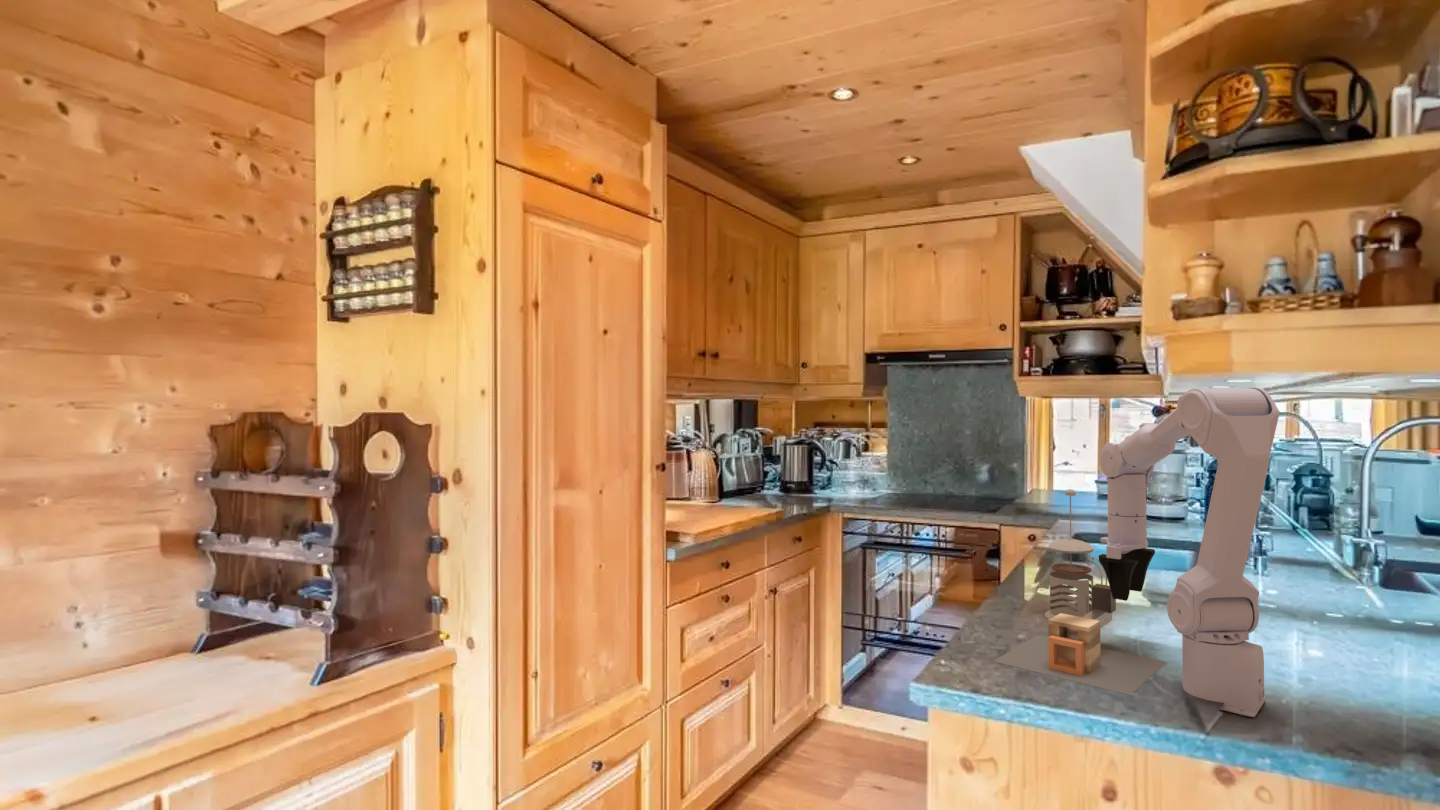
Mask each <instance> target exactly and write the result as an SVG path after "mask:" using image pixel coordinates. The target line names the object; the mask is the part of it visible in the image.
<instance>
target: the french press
mask: <svg viewBox="0 0 1440 810" xmlns="http://www.w3.org/2000/svg"><path fill="white" fill-rule="evenodd" d="M1064 496H1069V537H1068V538H1062V539H1057V540H1054V541H1052V542H1051V543H1050V544H1048V549H1049V550H1051V551H1053V552H1058V553H1063V554H1064V553H1065V554H1069V555H1070V556H1069V557H1070V558H1069V560H1070V563H1060V562H1059V563H1055V564H1052V565H1051V566H1050V568H1051V569H1052V570H1053V571H1051V572H1049V610H1047V611H1046V612H1044V617H1045V618H1046V619H1048V620H1049V619H1051V618H1053V617H1055V616H1056V615H1058V614H1060V613H1062V614H1067V615H1073V616H1078V617H1083V616H1084V615H1086V614H1088V613H1089V612H1091V611H1093V610H1092V586H1093V585H1094V576H1093V575H1091V574H1090V573H1091V572H1092V571H1093V570H1092V568H1091V567H1090V566H1092V565H1093V564H1094V565H1095V566H1096V568H1098V571H1099V573H1100V584H1102V585H1108V578H1107V575H1106V574H1105V584H1103V583H1104V582H1103V573H1102V570H1101V568H1100V566H1099V565H1098V564H1097V562H1099V558H1096V557H1095V556H1093V557H1092V558H1089V557H1088V558H1087V559H1086V565H1082V564H1080V565H1079V564H1075V563H1072V554H1074V555H1075V554H1079V555H1080V554H1082V555H1083V554H1090V553H1092V552H1093V551H1094V550H1095V547H1093V546H1092V545H1091V544H1089V543H1088V542H1085V541H1083V540H1080V539H1075V538H1073V537H1072V496H1075V497H1076V490H1074V489H1072V488H1071V489H1070V488H1068V489H1067V490H1066V491H1065V494H1064ZM1094 560H1096V561H1097V562H1096V561H1094ZM1089 561H1091V563H1089ZM1099 564H1100V565H1101V563H1100V562H1099ZM1103 570H1104V569H1103ZM1104 572H1105V570H1104ZM1073 589H1077V590H1073ZM1090 589H1091V590H1090ZM1072 595H1074V596H1075V597H1074V596H1072ZM1072 602H1075V603H1072Z"/></svg>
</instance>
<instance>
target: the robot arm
mask: <svg viewBox="0 0 1440 810" xmlns="http://www.w3.org/2000/svg"><path fill="white" fill-rule="evenodd" d="M1176 404H1177V406H1176V408H1175V409H1173V410H1172V411H1170V413H1169V414H1168V415H1167V416H1165V418H1163V419H1162V420H1161V421H1160V422H1159V423H1155V422H1154V423H1152V422H1143V423H1141V424H1140V425H1139V426H1138V428H1139V429H1137V430H1135V431H1134V432H1133V433H1132V434H1131V435H1127V436H1125V437H1124V439H1123V440H1122V441H1121V442H1119V443H1115V442H1106V443H1105V445H1104V446H1103V447H1102V448H1101V450H1100V454H1099V466H1100V468H1101V471H1102V473H1103V474H1104V476H1105V477H1107V536H1104V537H1103V536H1102V537H1101V538H1100V543H1103V544H1104V543H1105V544H1107V545H1106V548H1105V549H1106V552H1105V553H1102V554H1099V555H1098V560H1099V561H1098V562H1099V564H1100V563H1101V564H1100V565H1101V566H1102V568H1103V570H1105V571H1104V574H1105V576H1106V575H1107V583H1108V586H1110V589H1111V593H1112V597H1113V599H1116V600H1119V601H1125V602H1126V601H1128V599H1129V597H1130V593H1131V591H1133V592H1142V591H1143V589H1144V584H1145V580H1146V575H1147V571H1148V567H1149V566H1150V563H1151V561H1152V559H1153V557H1154V555H1155V554H1156V550H1155V549H1153V548H1148V547H1149V541H1148V540H1147V537H1148V536H1147V488H1149V486H1150V484H1151V475H1152V473H1153V471H1154V469H1155V465H1156V464H1158V463H1159V462H1160V461H1162V460H1164V459H1165V458H1166V457H1168V456H1170V455H1171V454H1172V453H1173V452H1174V450H1175V448H1176V442H1178V441H1180V440H1182V439H1184V438H1185V437H1187V436H1190V437H1192V439H1193V440H1194V441H1195V442H1196V443H1197V445H1198V446H1199V447H1200V448H1201V450H1202V451H1203V452H1204V453H1205V454H1208V455H1210V456H1212V457H1214V458H1215V460H1216V461H1217V469H1216V473H1215V477H1214V481H1213V482H1214V483H1213V487H1212V492H1211V496H1210V499H1209V500H1210V501H1209V507H1208V511H1207V515H1206V520H1205V525H1204V528H1203V534H1202V539H1201V543H1200V546H1199V552H1198V558H1197V562H1196V564H1195V566H1194V567H1192V568H1190V569H1188V570H1187V571H1185V572H1184V573H1183V574H1181V575H1180V576H1178V577H1177V578H1176V583H1175V587H1174V588H1173V590H1172V591H1171V592H1170V594H1169V596H1168V599H1167V601H1166V602H1167V604H1166V611H1167V615H1168V618H1169V620H1170V623H1171V624H1172V626H1174V628H1175V630H1176V632H1177V633H1179V634H1181V637H1182V642H1181V643H1182V644H1181V645H1182V654H1181V655H1182V690H1183V691H1184V692H1185V693H1187V694H1189V695H1191V696H1193V697H1196V698H1199V699H1202V700H1205V701H1208V702H1209V701H1210V702H1215V703H1221V704H1222V703H1223V704H1222V706H1221V707H1220V708H1219V711H1220V710H1222V711H1225V712H1229V713H1233V714H1236V715H1237V714H1238V715H1242V716H1246V717H1249V718H1250V717H1251V718H1255V717H1256V716H1257V714H1258V712H1259V711H1260V710H1261V708H1262V707H1263V705H1264V703H1265V702H1266V698H1265V662H1264V661H1265V659H1264V658H1265V655H1264V650H1263V649H1264V648H1263V646H1262V645H1260V644H1256V643H1252V642H1249V641H1248V640H1250V637H1249V636H1250V633H1253V632H1254V631H1255V630H1256V628H1257V627H1258V624H1259V620H1260V611H1259V605H1258V603H1259V601H1258V600H1259V596H1260V591H1259V590H1258V589H1257V587H1256V586H1255V585H1254V583H1253V582H1252V581H1250V580H1249V579H1248V578H1246V576H1244V573H1245V568H1246V563H1247V560H1248V555H1249V551H1250V547H1251V542H1252V538H1253V535H1254V534H1253V533H1254V529H1255V525H1256V521H1257V517H1258V513H1259V509H1260V504H1261V500H1262V495H1263V492H1264V487H1265V483H1266V478H1267V475H1268V471H1269V466H1270V460H1271V450H1272V447H1273V443H1274V439H1275V434H1276V430H1277V426H1278V423H1279V422H1278V421H1279V418H1280V410H1279V408H1278V407H1277V405H1276V403H1275V401H1274V400H1273V398H1272V396H1271V395H1270V394H1269V392H1267V390H1265V389H1263V388H1261V387H1250V388H1249V387H1248V388H1209V389H1208V388H1204V389H1203V388H1199V387H1197V388H1196V387H1195V388H1190V389H1188V390H1187V391H1186V392H1185V393H1184V394H1182V395H1180V396H1179V397H1178V400H1177V403H1176Z"/></svg>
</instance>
